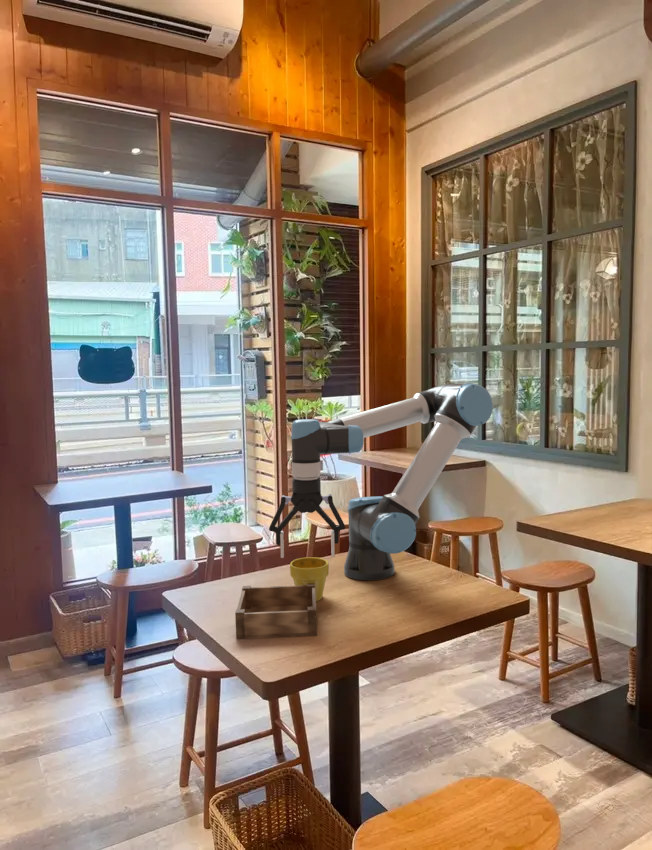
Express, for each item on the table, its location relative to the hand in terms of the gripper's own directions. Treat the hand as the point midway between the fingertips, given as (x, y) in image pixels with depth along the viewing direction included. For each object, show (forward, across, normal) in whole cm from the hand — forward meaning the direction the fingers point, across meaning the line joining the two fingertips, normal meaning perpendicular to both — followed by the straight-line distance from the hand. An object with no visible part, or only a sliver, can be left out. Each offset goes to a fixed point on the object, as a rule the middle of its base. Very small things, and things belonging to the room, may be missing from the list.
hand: (307, 556), depth 173 cm
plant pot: (+12, 0, 0) cm, 12 cm away
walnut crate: (+12, +8, +16) cm, 21 cm away
